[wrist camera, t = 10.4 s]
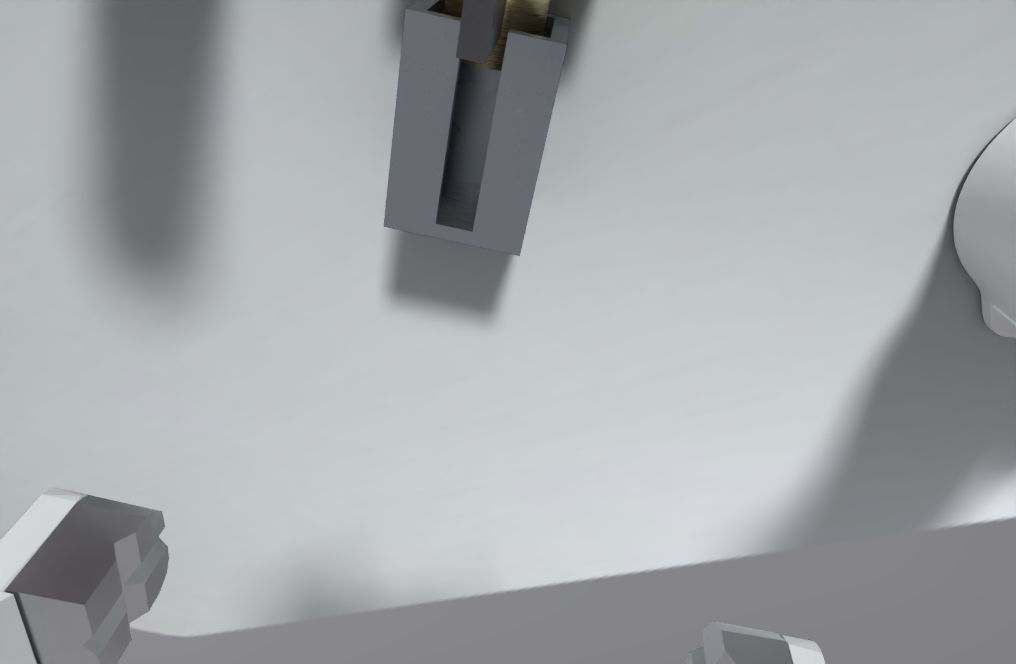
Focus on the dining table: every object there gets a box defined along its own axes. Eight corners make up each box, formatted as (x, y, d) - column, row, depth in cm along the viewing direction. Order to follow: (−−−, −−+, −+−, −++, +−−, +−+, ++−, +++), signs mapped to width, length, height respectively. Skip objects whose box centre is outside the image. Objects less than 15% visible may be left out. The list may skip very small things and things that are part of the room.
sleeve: (569, 19, 37) (567, 45, 31) (528, 202, 43) (519, 255, 37) (435, -12, 37) (405, 8, 31) (412, 177, 43) (383, 226, 37)
